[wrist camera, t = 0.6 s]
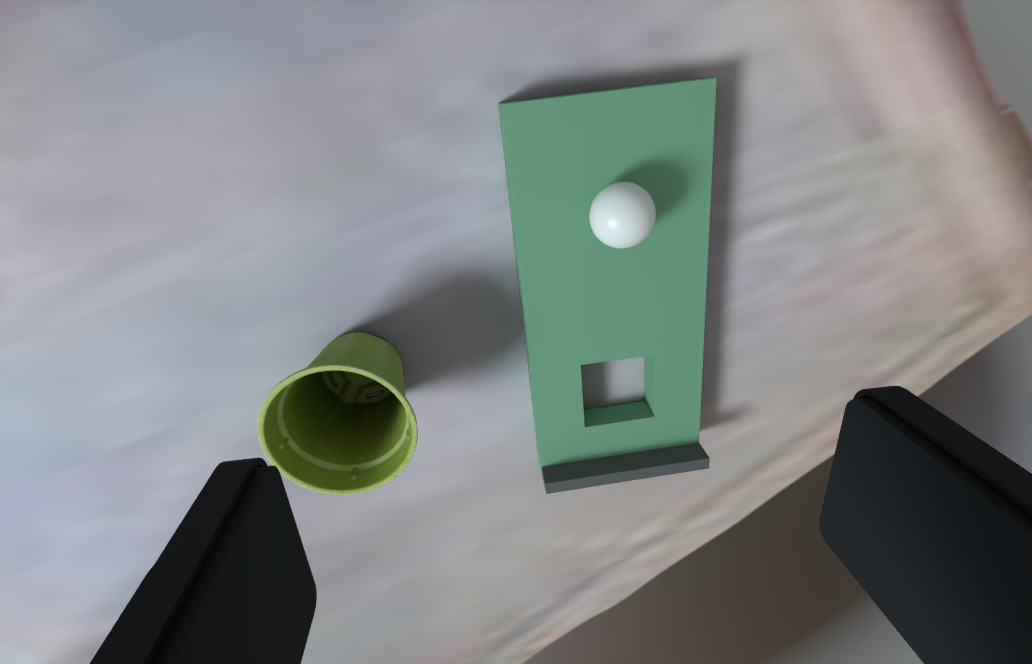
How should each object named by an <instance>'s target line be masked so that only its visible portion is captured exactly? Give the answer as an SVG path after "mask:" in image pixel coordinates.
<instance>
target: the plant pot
mask: <svg viewBox="0 0 1032 664" xmlns="http://www.w3.org/2000/svg"><path fill="white" fill-rule="evenodd" d="M329 372H332V374H333V377H334V380H335V381H336V383H337V384H338V386H334V385H333V384H332V382H331V381H330V379H329V377H328V373H329ZM381 390H382V393H381V394H379V395H378V396H375V397H371V398H369V397H366V395H367V394H371V393H375V392H380V391H381ZM257 429H258V437H259V441H260V445H261V447H262V450H263V452H264V453H265V455H266V457H267V458H268V460H269V461H270V463H271V464H272V465H273V466H276V467H277V468H278V470H279V472H280V473H281V474H283V475H284V476H285V477H286V478H288V479H289V480H291V481H293V482H294V483H296V484H298V485H300V486H302V487H305V488H307V489H310V490H313V491H316V492H320V493H326V494H334V495H350V494H359V493H364V492H368V491H371V490H373V489H376V488H378V487H381V486H383V485H385V484H386V483H388V482H390V481H391V480H392V479H394V478H395V477H396V476H397V475H398V474H400V473H401V472H402V471H403V470H404V468H405V467H406V466H407V465H408V463H409V462H410V460H411V458H412V456H413V454H414V451H415V448H416V444H417V437H418V429H417V421H416V417H415V414H414V412H413V409H412V407H411V405H410V403H409V402H408V400H407V399H406V397H405V387H404V376H403V365H402V361H401V358H400V356H399V354H398V352H397V351H396V350H395V348H394V347H393V346H392V345H391V344H390V343H389V342H387V341H385V340H383V339H380V338H378V337H376V336H373V335H371V334H368V333H363V332H354V333H348V334H344V335H342V336H339V337H338V338H336V339H334V340H333V341H332V342H330V343H329V344H328V345H327V346H326V347H325V348H324V349H323V350H322V352H321V353H320V354H319V355H318V356H317V357H316V358H315V359H314V361H313V362H312V363H311V364H310V365H309V366H308V367H307V368H305V369H303V370H300V371H298V372H296V373H294V374H292V375H290V376H289V377H287V378H286V379H284V380H283V381H281V382H280V383H279V384H278V385H277V386H276V387H275V388H274V389H273V390H272V391H271V392H270V393H269V395H268V396H267V398H266V399H265V401H264V403H263V405H262V407H261V409H260V413H259V417H258V424H257Z"/></svg>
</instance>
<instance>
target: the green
mask: <svg viewBox="0 0 1032 664" xmlns="http://www.w3.org/2000/svg"><path fill="white" fill-rule="evenodd" d="M716 80H717V78H698V79H690V80H682V81H674V82H665V83H657V84H649V85H641V86H633V87H625V88H617V89H608V90H600V91H592V92H584V93H576V94H568V95H559V96H551V97H543V98H535V99H527V100H519V101H511V102H502V103H498V104H499V113H500V122H501V131H502V140H503V148H504V157H505V166H506V175H507V184H508V193H509V201H510V210H511V219H512V228H513V237H514V246H515V254H516V263H517V272H518V281H519V290H520V299H521V308H522V316H523V325H524V334H525V343H526V352H527V361H528V369H529V378H530V387H531V396H532V405H533V414H534V422H535V431H536V440H537V449H538V458H539V462H540V467H541V472H542V476H543V481H544V485H545V490H546V494H548V493H555V492H561V491H567V490H574V489H580V488H586V487H593V486H599V485H606V484H612V483H618V482H625V481H631V480H637V479H644V478H650V477H657V476H663V475H669V474H676V473H682V472H688V471H695V470H701V469H707V468H709V457H708V455H707V454H706V452H705V451H704V449H703V448H702V446H701V445H700V443H699V432H700V411H701V390H702V370H703V349H704V328H705V307H706V287H707V266H708V245H709V225H710V204H711V183H712V163H713V142H714V121H715V100H716ZM617 182H631V183H634V184H637V185H639V186H641V187H642V188H643V189H645V190H646V191H647V192H648V193H649V195H650V196H651V198H652V200H653V202H654V205H655V211H656V217H655V223H654V226H653V228H652V230H651V232H650V233H649V235H648V236H647V237H646V238H645V239H644V240H643V241H642V242H640V243H639V244H637V245H635V246H632V247H629V248H614V247H610V246H608V245H606V244H604V243H603V242H601V241H600V240H599V239H598V238H597V237H596V236H595V234H594V232H593V231H592V228H591V225H590V219H589V213H590V208H591V205H592V202H593V200H594V198H595V197H596V196H597V194H598V193H599V192H600V191H601V190H602V189H604V188H605V187H607V186H609V185H611V184H613V183H617ZM640 356H645V401H639V402H632V403H625V404H619V405H612V406H605V407H599V408H592V409H585V410H584V409H583V393H582V378H581V365H585V364H592V363H599V362H605V361H612V360H619V359H626V358H633V357H640Z"/></svg>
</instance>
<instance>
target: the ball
mask: <svg viewBox="0 0 1032 664" xmlns="http://www.w3.org/2000/svg"><path fill="white" fill-rule="evenodd" d="M655 217H656V211H655V205H654V202H653V200H652V198H651V196H650V195H649V193H648V192H647V191H646V190H645V189H643V188H642V187H641V186H639V185H637V184H634V183H631V182H617V183H613V184H611V185H609V186H607V187H605V188H604V189H602V190H601V191H600V192H599V193H598V194H597V196H596V197H595V198H594V200H593V202H592V205H591V208H590V213H589V219H590V225H591V228H592V231H593V232H594V234H595V236H596V237H597V238H598V239H599V240H600V241H601V242H603V243H604V244H606V245H608V246H610V247H614V248H629V247H632V246H635V245H637V244H639V243H640V242H642V241H643V240H644V239H645V238H646V237H647V236H648V235H649V233H650V232H651V230H652V228H653V226H654V223H655Z"/></svg>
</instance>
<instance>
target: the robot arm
mask: <svg viewBox="0 0 1032 664" xmlns="http://www.w3.org/2000/svg"><path fill="white" fill-rule="evenodd" d="M819 524H820V530H821V533H822V536H823V538H824V540H825V541H826V543H827V544H828V545H829V547H830V548H831V549H832V550H833V552H834V553H835V554H836V555H837V556H838V558H839V559H840V560H841V562H842V563H843V564H844V565H845V566H846V568H847V569H848V570H849V571H850V573H851V574H852V575H853V576H854V578H855V579H856V580H857V581H858V582H859V584H860V585H861V586H862V587H863V589H864V590H865V591H866V592H867V594H868V595H869V596H870V597H871V599H872V600H873V601H874V602H875V604H876V605H877V606H878V607H879V609H880V610H881V611H882V612H883V613H884V615H885V616H886V617H887V618H888V620H889V621H890V622H891V623H892V625H893V626H894V627H895V628H896V630H897V631H898V632H899V633H900V634H901V636H902V637H903V638H904V639H905V641H906V642H907V643H908V644H909V646H910V647H911V648H912V649H913V651H914V652H915V653H916V654H917V655H918V657H919V658H920V659H921V660H922V662H923V663H924V664H1032V474H1031V473H1030V472H1028V471H1027V470H1025V469H1024V468H1022V467H1021V466H1019V465H1018V464H1016V463H1015V462H1013V461H1012V460H1010V459H1009V458H1008V457H1006V456H1005V455H1003V454H1002V453H1000V452H998V451H997V450H996V449H994V448H993V447H991V446H990V445H988V444H987V443H985V442H984V441H982V440H981V439H979V438H978V437H976V436H975V435H973V434H972V433H970V432H969V431H967V430H966V429H964V428H963V427H961V426H960V425H959V424H957V423H955V422H954V421H953V420H951V419H950V418H948V417H947V416H945V415H943V414H942V413H941V412H939V411H938V410H936V409H935V408H933V407H931V406H930V405H929V404H927V403H926V402H924V401H923V400H921V399H920V398H918V397H917V396H915V395H914V394H913V393H911V392H910V391H908V390H907V389H905V388H902V387H900V386H888V387H879V388H870V389H863V390H860V391H858V392H857V393H856V395H855V396H854V399H853V400H850V401H849V402H848V403H847V405H846V408H845V412H844V416H843V421H842V425H841V429H840V434H839V438H838V442H837V447H836V451H835V455H834V460H833V464H832V468H831V472H830V477H829V481H828V486H827V490H826V494H825V498H824V503H823V507H822V512H821V516H820V522H819ZM316 597H317V593H316V586H315V582H314V579H313V576H312V573H311V569H310V566H309V563H308V560H307V557H306V554H305V551H304V547H303V544H302V541H301V538H300V535H299V532H298V529H297V525H296V522H295V519H294V516H293V513H292V510H291V507H290V503H289V500H288V497H287V494H286V491H285V488H284V485H283V481H282V478H281V475H280V472H279V470H278V468H277V467H276V466H267V464H266V462H265V461H264V460H263V459H262V458H252V459H243V460H234V461H225V462H222V463H220V464H219V465H218V466H217V467H216V468H215V470H214V471H213V473H212V475H211V476H210V478H209V479H208V481H207V483H206V484H205V486H204V487H203V489H202V490H201V492H200V494H199V495H198V497H197V498H196V500H195V501H194V503H193V505H192V506H191V508H190V509H189V511H188V513H187V514H186V516H185V517H184V519H183V520H182V522H181V524H180V525H179V527H178V528H177V530H176V531H175V533H174V535H173V536H172V538H171V539H170V541H169V543H168V544H167V546H166V547H165V549H164V550H163V552H162V554H161V555H160V557H159V558H158V560H157V561H156V563H155V564H154V566H153V567H152V568H151V569H150V571H149V572H148V573H147V575H146V576H145V578H144V579H143V581H142V582H141V584H140V586H139V587H138V589H137V590H136V592H135V593H134V595H133V597H132V598H131V600H130V601H129V603H128V604H127V606H126V608H125V609H124V611H123V612H122V614H121V615H120V617H119V619H118V620H117V622H116V623H115V625H114V626H113V628H112V629H111V631H110V633H109V634H108V636H107V637H106V639H105V640H104V642H103V644H102V645H101V647H100V648H99V650H98V651H97V653H96V655H95V656H94V658H93V659H92V661H91V662H90V664H301V660H302V656H303V653H304V649H305V645H306V642H307V638H308V634H309V631H310V627H311V623H312V620H313V616H314V612H315V608H316Z"/></svg>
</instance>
